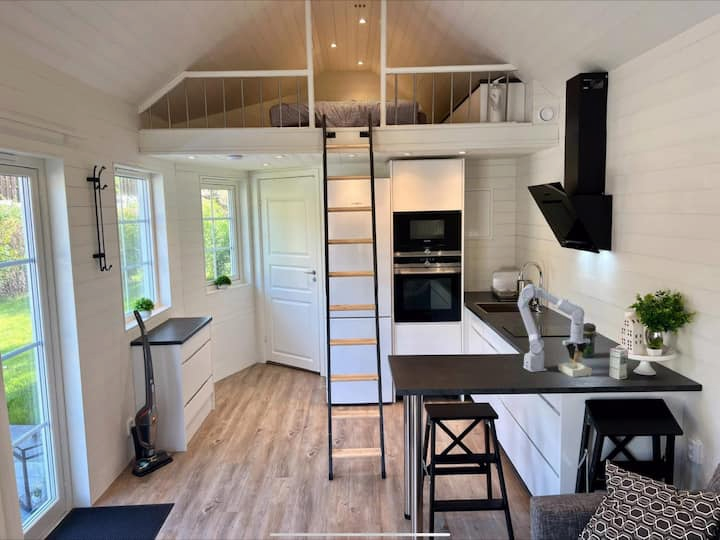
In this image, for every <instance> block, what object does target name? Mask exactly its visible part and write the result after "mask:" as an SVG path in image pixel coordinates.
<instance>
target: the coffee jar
mask: <svg viewBox="0 0 720 540" xmlns="http://www.w3.org/2000/svg"><path fill="white" fill-rule="evenodd" d="M596 328H597V326H596V325H595V324H594V323H590V322H586V323H584V328H583V339H590V343H586V344H587V347H586V349H585V350H584V352H583V355H582V358H583V357H584V358H587V359H590V358H592V357H595V343H596V342H595V340H596V339H595V338H596V332H597V329H596Z"/></svg>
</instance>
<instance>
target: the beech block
mask: <svg viewBox="0 0 720 540" xmlns="http://www.w3.org/2000/svg"><path fill="white" fill-rule="evenodd" d="M569 361H570V362H574V363H577V362H578V363H582V362H583V357H582V352H580V351H578V349H575V352H574V359H571V358H570V357H569Z"/></svg>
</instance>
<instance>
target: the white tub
mask: <svg viewBox="0 0 720 540" xmlns="http://www.w3.org/2000/svg"><path fill="white" fill-rule="evenodd" d="M557 366H558V367H557V368H558V372H561V373H563V374H565V375H567V376H569V377H570V378H579V376H580V377H588V376H592V371H593V369H592V367H589V366H588V365H587V366H586V365H585V364H582V363H581V362H577V363H574V362H572V361H570V362H562V363H561V362H560V363H558V365H557ZM587 375H588V376H587Z"/></svg>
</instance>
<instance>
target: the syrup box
mask: <svg viewBox="0 0 720 540" xmlns="http://www.w3.org/2000/svg"><path fill="white" fill-rule="evenodd" d="M609 351H610V352H609V374H608V375H609V377H610V378H613V379H616V380H624V379H627V378H628V366H629V365H628V363H629V349H627V348H626V347H625V348H624V347H622V346H621V347H620V346H618V347H613V348H609Z"/></svg>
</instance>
